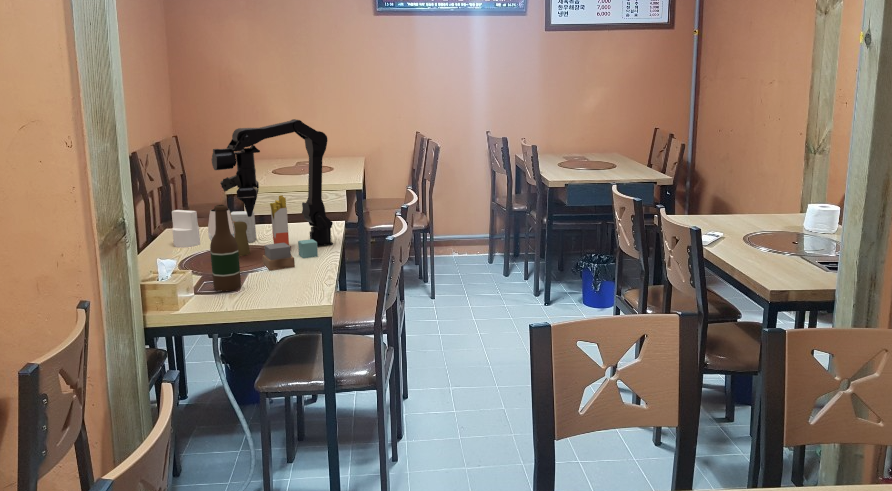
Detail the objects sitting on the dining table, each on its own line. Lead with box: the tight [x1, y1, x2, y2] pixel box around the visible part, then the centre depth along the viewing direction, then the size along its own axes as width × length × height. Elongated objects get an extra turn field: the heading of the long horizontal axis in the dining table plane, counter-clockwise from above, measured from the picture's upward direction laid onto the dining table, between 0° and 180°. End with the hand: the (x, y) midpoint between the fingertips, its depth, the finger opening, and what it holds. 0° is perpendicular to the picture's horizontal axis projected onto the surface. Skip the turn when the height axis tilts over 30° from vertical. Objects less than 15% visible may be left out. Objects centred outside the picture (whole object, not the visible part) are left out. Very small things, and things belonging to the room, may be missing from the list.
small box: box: [230, 210, 257, 243], centre depth 276 cm, size 8×6×10 cm
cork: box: [234, 221, 251, 257], centre depth 257 cm, size 6×6×11 cm
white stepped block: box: [171, 209, 201, 248], centre depth 272 cm, size 9×9×12 cm
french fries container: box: [269, 194, 290, 246], centre depth 264 cm, size 5×11×18 cm, turn 19°
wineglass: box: [207, 208, 235, 242], centre depth 231 cm, size 8×8×20 cm
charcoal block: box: [264, 243, 292, 260], centre depth 241 cm, size 6×6×4 cm
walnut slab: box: [262, 254, 296, 271], centre depth 242 cm, size 8×8×4 cm
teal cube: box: [297, 238, 319, 259], centre depth 254 cm, size 5×5×5 cm
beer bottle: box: [209, 204, 242, 292], centre depth 217 cm, size 8×8×24 cm
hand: (250, 214), depth 255 cm, fingers open, 9 cm apart
